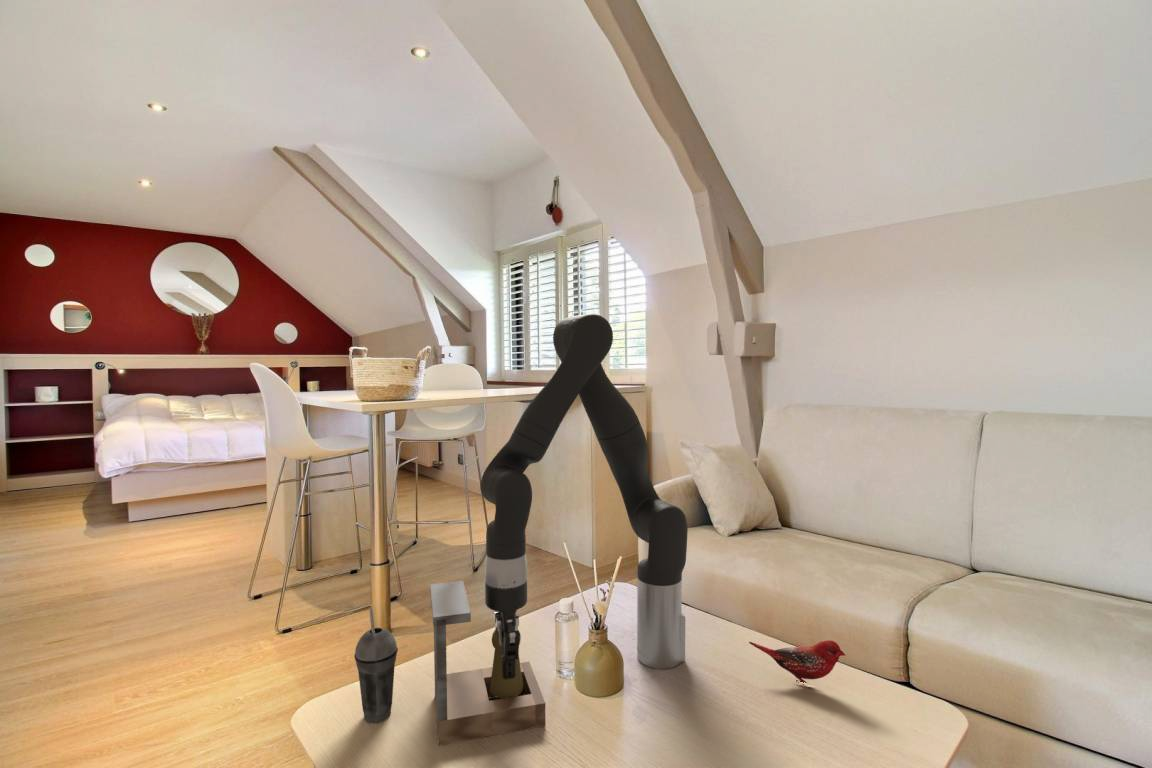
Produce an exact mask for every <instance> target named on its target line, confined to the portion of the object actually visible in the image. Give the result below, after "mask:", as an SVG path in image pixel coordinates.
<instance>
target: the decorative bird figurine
mask: <svg viewBox="0 0 1152 768" xmlns="http://www.w3.org/2000/svg"><path fill="white" fill-rule="evenodd" d="M748 644H749V645H752V646H753V647H755V648H756V649H758V650H760V651H761V652H763V653H765V654H767V655H768V656H770V657H771V658H772V659H773V660H774V661H775V662H776V664H777V665H778V666H780V667H781V668H782V669H784V670H786V671H787V672H789V673H791V674H792V675H793V676H794V677H795V678H796V679H795V680H796V682H797V681H798V680H799V681H800V682H803V683H804V682H805V683H808V682H807V681H806V680H818V679H822V678H824V677H826V676H828V675H829V674H830V673H831V672H832V671H833V669H834V668H835V666H836V664H837V663H838V662H839V659H840V657H841V656H844V657H847V654H845V653H844V652H843V650H842V649H841V647H840V645H839V644H838V643H837V642H836V641H834V640H831V639H830V640H829V639H828V640H824V641H823V640H822V641H820V642H818V643H817V644H814V645H811V646H805V647H804V646H801V647H800V646H793V647H784V648H779V649H772V648H768V647H766V646H763V645H762V644H759V643H758V644H757V643H755V642H752V641H748Z"/></svg>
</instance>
